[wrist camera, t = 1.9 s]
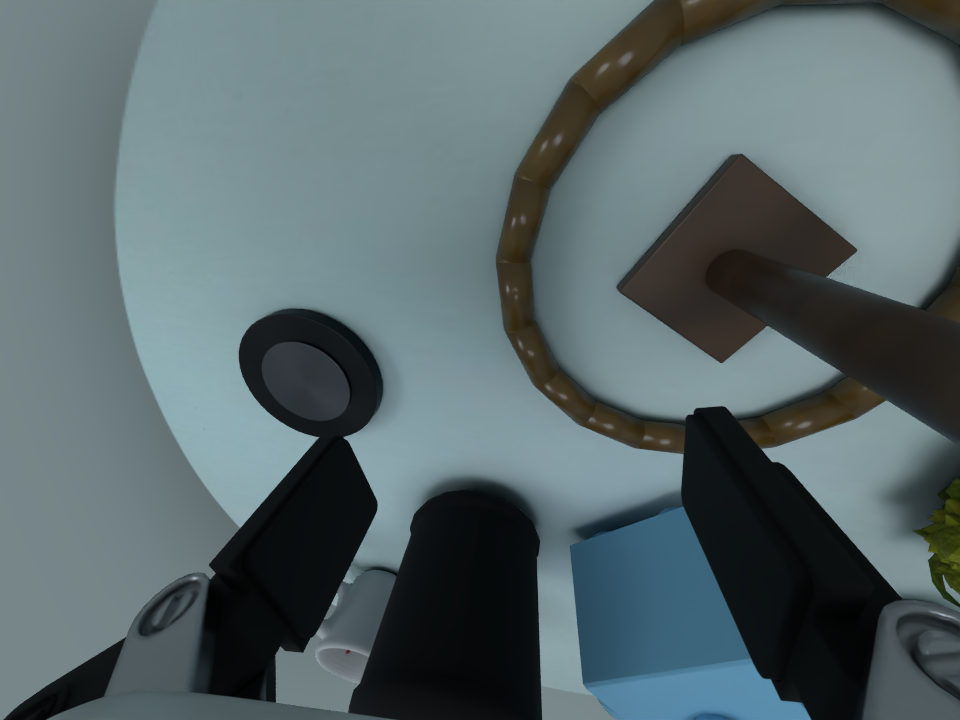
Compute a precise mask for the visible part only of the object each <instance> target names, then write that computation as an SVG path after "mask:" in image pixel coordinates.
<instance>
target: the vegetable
mask: <svg viewBox="0 0 960 720" xmlns="http://www.w3.org/2000/svg"><path fill="white" fill-rule="evenodd" d="M938 496H939V497H941V498H942V499H943V500H944V501H945V502H946V503H945V504H944V505H943V506H942V509H941V510H933V514H934V515H932V516H930V517H927V518H929V519H930V520H931V521H932V522H934V523H935V524H932V525H930V526H927V527H925V528H922V529H919V530H914V532H916V533H917V534H919V535H921V536H923V537H925V539H924V540H925V541H927V542H928V543H930V546H929V550H928V551H929V552H933V553H935V554H934V555H933V556H932V557H931V558H930V559H929V560H928V562H929V567H930V572H931V577H932V582H933V583H934V585H935V586H936V588H937V589H938V591H939V592H940V593H941V595H942V596H943V598H944V599H946V600H948V601H950V602H951V603H953V604H955V605H956V606H958V607H960V604H959V603H958V602H957V601H956V600H955V599H954V598H953V597H952V596H951V595H950V594H949V593H948V592H947V591H946V589H945V585H944V581H943V575H944V577H945V580H946V581H947V583H948V585H949V586H950V588H953V589H954V590H955V591H956V592H957V593H959V594H960V479H954V480H953V482H952V483H951V485H948V486H947V487H946V488H945V489H943V490H942V491H941V492H940V493H938Z"/></svg>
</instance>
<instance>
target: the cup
mask: <svg viewBox="0 0 960 720" xmlns="http://www.w3.org/2000/svg"><path fill="white" fill-rule="evenodd" d="M396 577H397V576H395V575H393V574H391V573H389V572H386V571H381V570H369V571H366V572H364V573H362V574H361V575H359V576H358V577H357V578H356V580H355V581H354V582H353V584H349V583H346V582H344V581H342V583H341V585H340V587H339V589H338V591H337V593H338V603H337V606H336V608H335V611H334V613H333V614H332V615H331V617H330V618H328V619H325V620H324V619H323V621H322V623H321V625H320V627H319V629H318V631H317V633H316V634H317V635H318V636H319V637H320V642H319V644H318V646H317V648H316V651H315V656H316V659H317V661H318V663H319V664H320V665H321V666H322V667H323V668H324V669H326V670H327V671H329V672H330V673H332V674H334V675H336V676H338V677H340V678H342V679H345V680H347V681H351V682H354V683H358V684H360V681H361V678H362V676H363V673H364V670H365V667H366V664H367V661H368V658H369V655H370V652H371V649H372V647H373V644H374V641H375V638H376V635H377V632H378V629H379V626H380V623H381V620H382V618H383V615H384V612H385V609H386V606H387V603H388V600H389V597H390V594H391V592H392V589H393V586H394V583H395V580H396Z"/></svg>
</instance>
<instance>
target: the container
mask: <svg viewBox="0 0 960 720" xmlns="http://www.w3.org/2000/svg"><path fill="white" fill-rule="evenodd" d="M410 531H411V536H410V539H409V542H408V545H407V548H406V551H405V554H404V557H403V560H402V563H401V565H400V568H399V571H398V574H397V577H396V580H395V583H394V586H393V589H392V592H391V594H390V597H389V600H388V603H387V606H386V609H385V612H384V615H383V618H382V620H381V623H380V626H379V629H378V632H377V635H376V638H375V641H374V644H373V647H372V649H371V652H370V655H369V658H368V661H367V664H366V667H365V670H364V673H363V676H362V678H361V681H360V684H359V685H358V686H357V687H356V688H355V689H354V691H353V694H352V698H351V701H350V705H349V711H348V713H352V714H359V715H366V716H373V717H380V718H387V719H394V720H542V705H541V674H540V644H539V613H538V583H537V556H538V554H539V546H540V539H539V536H538V534H537V531H536V529H535V527H534V524H533V522H532V521H531V520H530V519H529V518H528V517H527V516H526V514H525V513H524V512H523V511H522V510H521V509H520V508H519V507H517V506H516V505H514V504H512V503H511V502H509V501H507V500H505V499H504V498H502V497H499V496H496V495H493V494H489V493H486V492H482V491H471V490H459V491H452V492H446V493H443V494H441V495H439V496H436V497H434V498H432V499H429V500H428V501H427V502H426V503H425V504H424V505H423V506H422V507H421V508H420V509H419V510H418V511H416V513H415V514H414V516H413V520H412V523H411V526H410Z"/></svg>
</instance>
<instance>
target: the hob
mask: <svg viewBox="0 0 960 720" xmlns="http://www.w3.org/2000/svg"><path fill="white" fill-rule="evenodd" d="M239 363H240V369H241V372H242V376H243V378H244V380H245V383H246V385H247V386H248V388H249V390H250V391H251V393H252V394H253V396H254V397H255V399H256V400H257V401H258V402H259V403H260V405H261V406H262V407H263V408H264V409H265V410H266V411H268V412H269V413H270V414H271V415H272V416H273V417H275V418H276V419H278V420H279V421H280V422H282V423H284V424H285V425H287V426H289V427H291V428H293V429H295V430H297V431H299V432H302V433H304V434H308V435H311V436H316V437H322V436H332V435H341V436H342V437H345V436H348V435H351V434H353V433H356V432H358V431H359V430H361V429H362V428H363V427H364V426H365V425H367V424H368V422H369V421H370V419H371V418H372V417H373V415H374V414H375V412H376V411H377V409H378V407H379V405H380V402H381V398H382V391H383V388H382V379H381V374H380V371H379V368H378V365H377V363H376V361H375V359H374V357H373V355H372V354H371V352H370V351H369V349H368V348H367V347H366V345H365V344H364V343H363V342H362V341H361V340H360V339H359V338H358V337H357V336H356V335H355V334H354V333H353V332H352V331H351V330H350V329H348V328H347V327H346V326H344V325H343V324H341V323H340V322H338V321H336V320H334V319H332V318H330V317H328V316H326V315H323V314H321V313H318V312H314V311H310V310H303V309H286V310H281V311H277V312H274V313H272V314H270V315H268V316H266V317H264V318H262V319H260V320H258V321H257V322H255V323H254V324H253V325H251V326H250V327H249V329H248V330H247V331H246V333H245V334H244V336H243V338H242V340H241V343H240V348H239Z"/></svg>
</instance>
